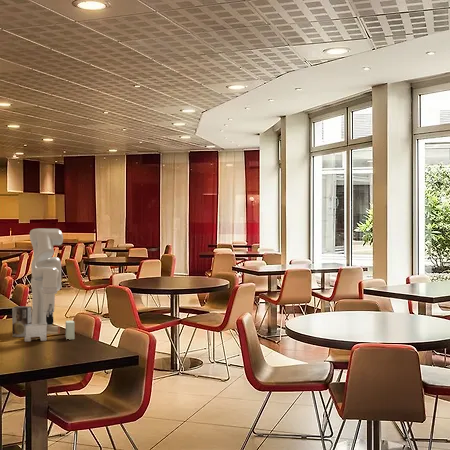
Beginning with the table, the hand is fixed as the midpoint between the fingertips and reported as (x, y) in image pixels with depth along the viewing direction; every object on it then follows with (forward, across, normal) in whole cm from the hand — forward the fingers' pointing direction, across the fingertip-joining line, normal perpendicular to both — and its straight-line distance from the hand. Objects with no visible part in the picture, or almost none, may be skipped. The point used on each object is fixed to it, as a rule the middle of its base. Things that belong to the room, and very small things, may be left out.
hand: (49, 323), depth 356 cm
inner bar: (+5, 0, -3) cm, 6 cm away
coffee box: (+9, -16, -14) cm, 23 cm away
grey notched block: (+9, 0, -7) cm, 11 cm away
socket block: (+9, 0, +11) cm, 14 cm away
